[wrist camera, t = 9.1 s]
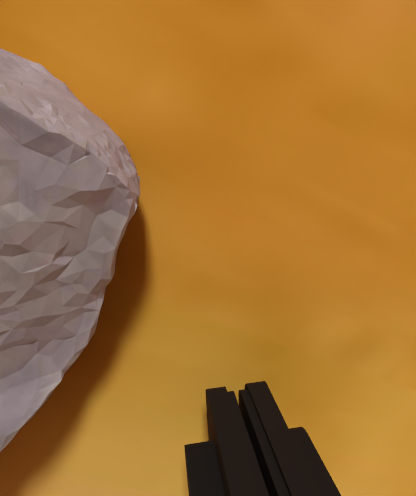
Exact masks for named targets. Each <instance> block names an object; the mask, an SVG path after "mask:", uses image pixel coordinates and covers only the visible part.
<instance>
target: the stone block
mask: <svg viewBox="0 0 416 496" xmlns="http://www.w3.org/2000/svg"><path fill="white" fill-rule="evenodd" d="M139 180H140V178H139V177H138V175H137V171H136V167H135V165H134V163H133V161H132V159H131V157H130V154H129V152H128V150H127V148H126V147H125V145H124V143H123V142H122V140H121V139H120V138H119V137H118V136H117V135H116V134H115V133H114V132H113V131H112V130H111V129H110V127H109V126H108V125H107V124H106V123H105V122H104V121H103V120H102V119H100V118H99V117H98V116H96V115H95V114H93V113H92V112H91V111H89V110H88V109H87V108H86V107H85V106H84V105H83V104H82V103H81V102H80V101H79V100H78V99H77V98H76V97H75V96H74V95H73V94H72V92H71V91H70V90H69V88H68V87H67V86H66V84H65V83H63V82H61V81H60V80H58V79H57V78H55V77H54V76H53V75H52V74H51V73H50V72H49V71H47V70H46V69H45V68H44V67H43V66H42V65H41V64H39V63H35V62H32V61H29V60H27V59H24V58H23V57H21V56H18V55H15V54H13V53H10V52H8V51H5V50H3V49H1V48H0V452H1V451H2V450H3V449H4V448H5V447H6V446H7V445H8V443H9V442H10V441H11V440H12V439H13V438H14V436H15V435H16V434H17V433H18V432H19V430H20V429H21V428H22V427H23V426H24V425H25V424H26V423H27V422H28V421H29V420H30V419H31V418H32V417H33V416H34V415H35V414H36V413H37V412H38V410H39V409H40V408H41V407H42V406H43V404H44V403H45V402H46V401H47V399H48V398H49V397H50V395H51V394H52V392H53V391H54V390H55V388H56V387H57V386H58V384H59V383H60V382H61V381H62V378H63V376H64V373H65V372H66V371H67V370H68V369H69V368H70V366H71V365H72V364H73V363H74V362H75V361H76V359H77V358H78V357H79V355H80V354H81V352H82V351H83V350H84V348H85V347H86V346H87V344H88V343H89V341H90V340H91V338H92V336H93V335H94V333H95V331H96V327H97V323H98V318H99V313H100V309H101V306H102V303H103V300H104V294H105V290H106V287H107V285H108V284H109V283H110V282H111V280H112V278H113V276H114V274H115V262H116V255H117V251H118V247H119V244H120V242H121V240H122V238H123V236H124V234H125V232H126V228H127V225H128V223H129V221H130V220H131V218H132V217H133V215H134V214H135V211H136V209H137V206H138V205H137V201H138V198H139V195H140V188H139Z"/></svg>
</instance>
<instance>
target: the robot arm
mask: <svg viewBox="0 0 416 496" xmlns="http://www.w3.org/2000/svg"><path fill="white" fill-rule="evenodd" d="M206 405H207V419H208V434H209V441H207V442H201V443H194V444H188V445H185V458H186V469H187V479H188V489H189V496H341V495H340V493H339V491H338V489H337V487H336V485H335V484H334V482H333V480H332V478H331V476H330V474H329V472H328V471H327V469H326V467H325V465H324V463H323V461H322V460H321V458H320V456H319V454H318V452H317V450H316V449H315V447H314V445H313V443H312V441H311V439H310V437H309V436H308V434H307V432H306V431H305V429H304V428H303V427H297V428H291V429H288V427H287V425H286V423H285V421H284V418H283V416H282V414H281V412H280V410H279V408H278V406H277V404H276V402H275V400H274V398H273V396H272V394H271V392H270V390H269V388H268V386H267V384H266V382H265V381H262V382H255V383H248V384H245V389H244V390H239V405H238V402H237V399H236V396H235V393H234V391H230V392H227V390H226V387H219V388H212V389H206Z"/></svg>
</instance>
